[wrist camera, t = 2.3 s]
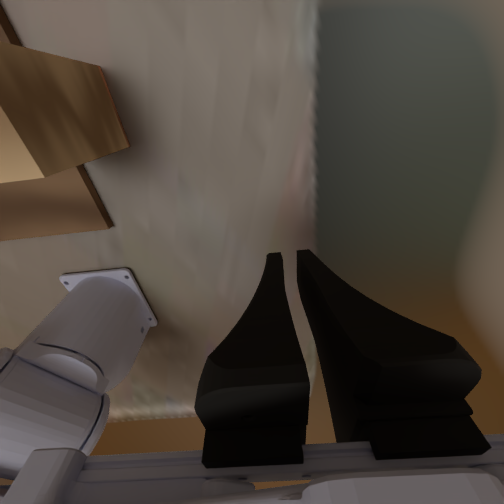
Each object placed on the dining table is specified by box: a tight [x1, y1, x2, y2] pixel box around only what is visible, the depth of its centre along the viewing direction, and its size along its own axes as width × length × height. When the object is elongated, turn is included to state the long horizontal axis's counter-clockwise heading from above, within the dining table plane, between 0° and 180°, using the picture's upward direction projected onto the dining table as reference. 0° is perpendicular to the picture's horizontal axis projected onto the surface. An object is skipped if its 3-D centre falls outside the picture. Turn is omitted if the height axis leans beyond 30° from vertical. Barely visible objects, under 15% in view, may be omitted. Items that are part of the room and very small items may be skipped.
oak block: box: [0, 41, 130, 183], centre depth 13 cm, size 5×4×9 cm
